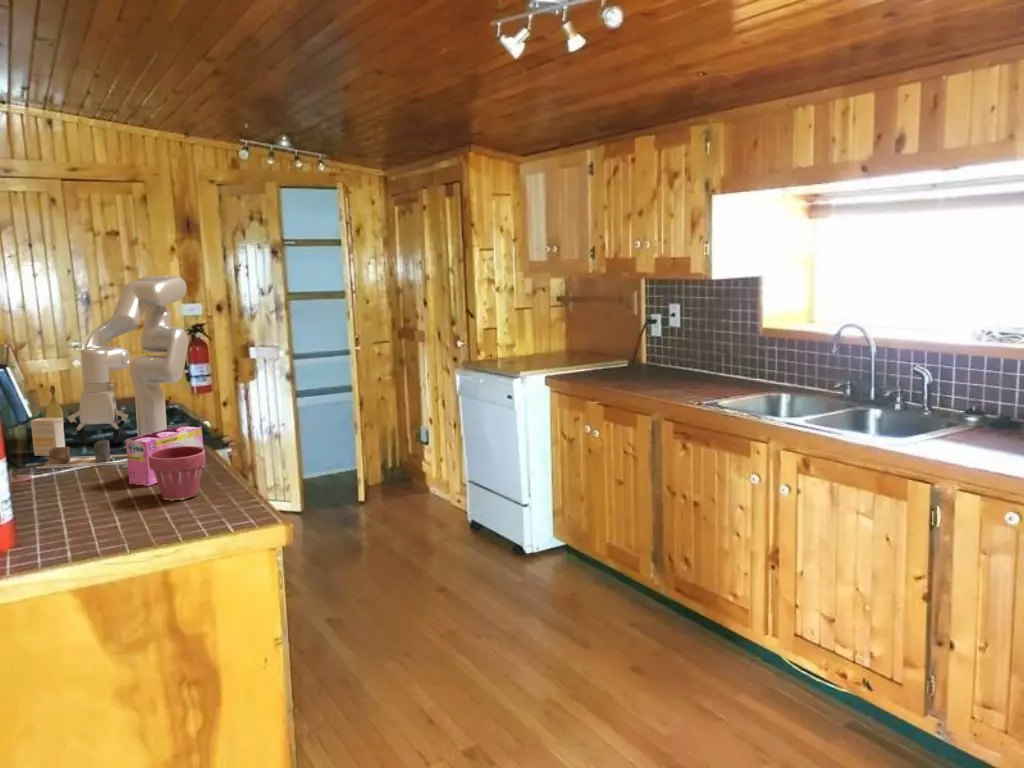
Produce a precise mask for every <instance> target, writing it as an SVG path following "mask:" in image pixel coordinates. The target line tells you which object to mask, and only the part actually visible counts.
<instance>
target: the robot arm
mask: <svg viewBox="0 0 1024 768" xmlns="http://www.w3.org/2000/svg"><path fill="white" fill-rule="evenodd" d="M187 287H188V286H187V283H186V281H185V280H184V279H183V278H182V277H180V276H179V275H145V276H142V277H140V278H138V279H137V280H133V281H129V282H128V283H126V284H125V285H124V287H123V289H122V291H121V294H120V296H119V299H118V301H117V303H116V305H115V309H114V310H113V314H112V315H111V317H109V318H108V319H107V320H105V321H104V322H103V323H101V324H100V325H99V326H98V327H97V328H95V329H94V330H93V331H92V332H91V334H90V335H89V337H88V338H87V341H86V343H85V346H84V347H83V350H82V352H81V355H80V356H81V357H80V358H81V373H82V375H81V376H82V390H83V392H81V394H80V397H79V399H80V400H79V409H78V411H76V412H74V413H73V414H70V415H69V416H67V419H68V421H69V423H71V425H72V426H73V427H74V429H76V430H77V433H78V435H77V436H78V437H77V438H78V441H79V442H80V443H81V444H83V443H85V442H86V441H87V439H86V438H87V437H86V429H85V428H84V427H86V426H87V425H105V424H107V425H109V424H110V425H111V427H113V430H112V435H113V437H112V438H113V442H114V443H116V442H119V439H121V429H120V428H121V427H123V426H124V424H125V423H126V421H127V419H128V418H129V414H128V413H125V412H123V411H121V410H119V409H118V408H117V402H116V398H115V397H116V396H115V393H114V391H113V390H112V389H115V387H116V384H114V383H111V381H110V379H111V378H110V371H119V370H124V369H126V368H127V367H129V374H130V377H131V381H132V385H133V391H134V401H135V416H136V429H137V437H138V436H142V435H146V434H150V433H154V432H158V431H161V430H165V429H168V425H167V424H168V423H167V413H166V412H167V411H166V409H167V408H166V395H165V392H164V389H163V388H162V387H161V385H160V384H175V383H178V382H180V380H181V379H182V377H183V374H184V371H185V370H184V369H185V366H186V360H187V359H186V358H187V355H188V348H189V336H188V334H187V331H186V330H185V329H183V328H182V327H179V326H171V323H172V313H171V311H170V308H169V307H168V305H170V304H172V303H176V302H179V301H180V300H182V299H183V298H184V297H185V296H186V294H187V290H188V289H187ZM144 313H145V317H144V322H143V325H142V329H141V330H142V331H141V335H140V347H141V349H142V351H143V352H145V353H148V354H166V355H147V354H146V355H139V356H136V357H135V358H133V359H132V354H131V353H130V352H129V350H128V349H126V348H125V347H121V346H110V345H109V346H107V345H108V344H109V343H110V342H111V341H112V340H114V339H116V338H118V337H121V336H123V335H126V334H128V333H130V332H132V331H134V330H136V329H138V327H140V323H141V320H142V318H143V316H144ZM111 390H112V391H111ZM78 416H79V417H78ZM118 416H119V417H121V420H120V421H117V420H118ZM77 417H78V418H79V422H80V423H79V422H78V421H77V420H76V418H77Z"/></svg>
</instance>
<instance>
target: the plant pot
mask: <svg viewBox="0 0 1024 768" xmlns="http://www.w3.org/2000/svg"><path fill="white" fill-rule="evenodd" d="M206 460H207V458H206V450H205V449H204V447H203V448H201V447H196V446H178V447H170V448H164V449H160V450H157V451H154V452H152V453H150V454H149V465H150V469H151V470H154V473H155V477H156V480H157V483H158V484H157V486H158V489H159V492H160V494H161V498H162V497H163V498H168V499H169V498H171V499H172V498H182V497H187V496H191V495H194V494H196V493H197V492H198V493H199V490H200V484H201V479H202V478H201V477H202V471H203V469H202V465H204V464H205V465H206ZM163 498H162V499H163Z"/></svg>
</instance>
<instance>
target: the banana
mask: <svg viewBox="0 0 1024 768" xmlns="http://www.w3.org/2000/svg"><path fill="white" fill-rule="evenodd" d="M49 392H50V394H51V395H50V396H51V399H50V403H49V404H48V406H47V408H46V412H45V418H62V419H63V429H64V427H65V426H64V425H65V423H64V422H65V420H64V413H63V409H62V406H61V405H60V404H59V402H58V401H57V398H56V395H55V393H56V389H55V385H53V384H51V385H50V387H49Z"/></svg>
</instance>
